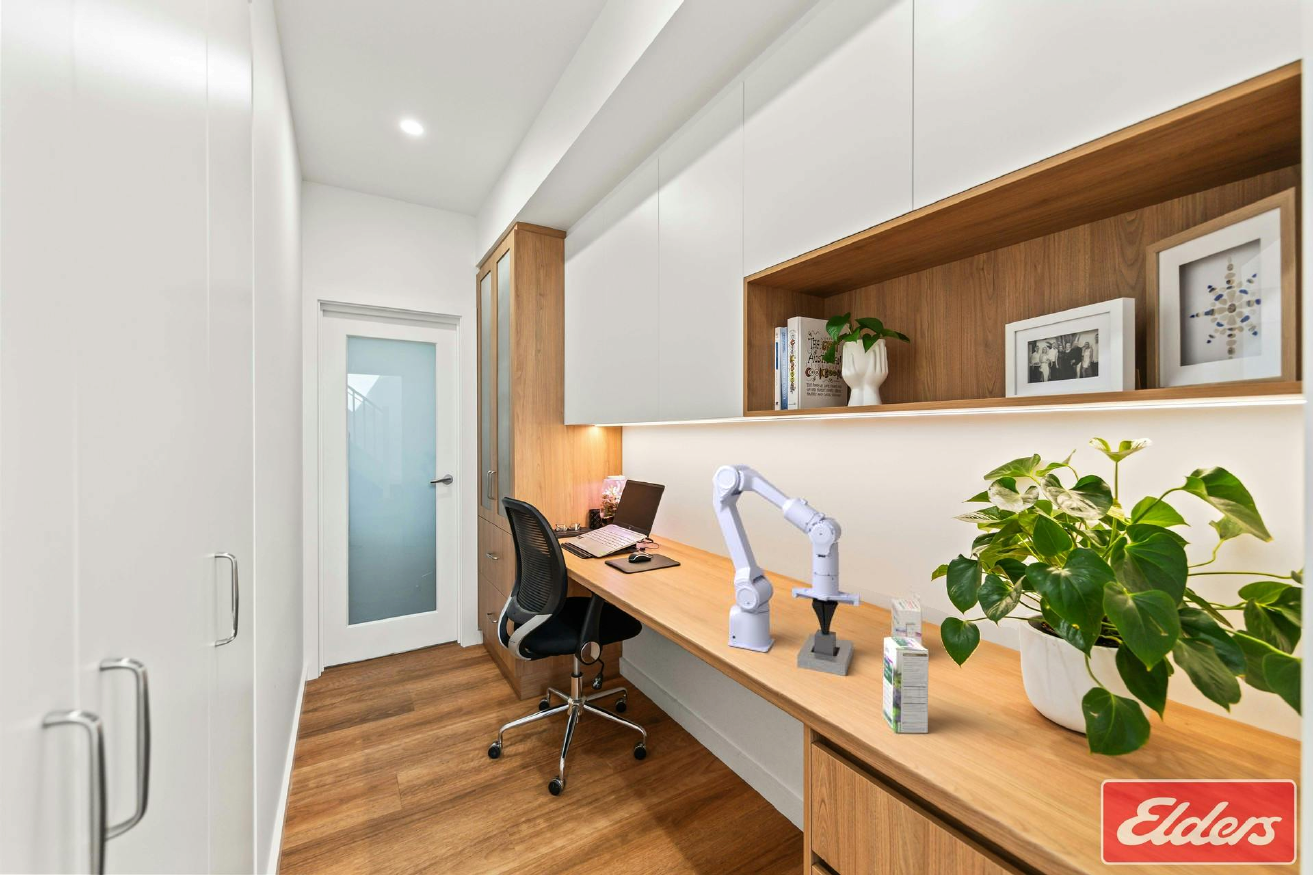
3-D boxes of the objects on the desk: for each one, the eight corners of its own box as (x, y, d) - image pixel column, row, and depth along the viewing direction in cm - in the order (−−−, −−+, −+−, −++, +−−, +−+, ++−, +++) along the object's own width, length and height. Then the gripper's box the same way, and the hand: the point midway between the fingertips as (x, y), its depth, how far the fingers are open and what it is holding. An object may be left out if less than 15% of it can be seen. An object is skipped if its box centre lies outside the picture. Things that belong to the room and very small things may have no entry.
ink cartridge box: (890, 646, 128) (890, 585, 128) (912, 647, 127) (912, 586, 127) (898, 661, 119) (898, 595, 119) (922, 663, 118) (922, 597, 118)
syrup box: (881, 716, 96) (881, 636, 96) (914, 716, 96) (914, 636, 96) (894, 733, 90) (894, 648, 90) (930, 734, 90) (929, 649, 90)
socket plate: (797, 666, 117) (797, 653, 117) (809, 644, 129) (809, 632, 129) (845, 676, 112) (845, 662, 112) (853, 651, 125) (853, 639, 125)
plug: (814, 661, 119) (814, 634, 119) (817, 655, 122) (817, 629, 122) (833, 665, 117) (833, 638, 117) (836, 658, 120) (835, 631, 120)
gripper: (788, 573, 119) (789, 633, 119) (857, 580, 113) (857, 644, 113) (795, 566, 126) (795, 623, 126) (861, 573, 119) (861, 633, 119)
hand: (825, 632), depth 120 cm, fingers closed
